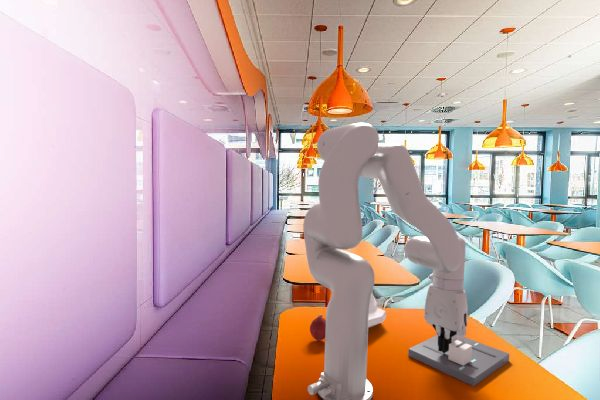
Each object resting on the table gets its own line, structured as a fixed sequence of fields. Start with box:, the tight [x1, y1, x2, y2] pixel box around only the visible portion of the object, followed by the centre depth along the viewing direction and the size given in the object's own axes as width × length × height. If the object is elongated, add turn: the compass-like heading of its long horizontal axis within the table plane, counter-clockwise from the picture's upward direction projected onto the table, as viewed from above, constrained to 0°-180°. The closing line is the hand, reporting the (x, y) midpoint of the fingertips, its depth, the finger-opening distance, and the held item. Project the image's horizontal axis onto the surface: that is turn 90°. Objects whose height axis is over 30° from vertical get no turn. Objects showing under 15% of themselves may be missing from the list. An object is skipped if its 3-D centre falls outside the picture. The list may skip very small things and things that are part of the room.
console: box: [408, 334, 510, 387], centre depth 99 cm, size 20×18×2 cm
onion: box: [309, 313, 326, 342], centre depth 107 cm, size 6×6×8 cm
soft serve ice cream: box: [368, 292, 387, 329], centre depth 119 cm, size 12×15×14 cm
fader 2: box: [448, 340, 472, 366], centre depth 93 cm, size 4×4×4 cm
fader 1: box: [445, 328, 466, 342], centre depth 105 cm, size 4×4×4 cm
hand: (444, 350), depth 97 cm, fingers closed
